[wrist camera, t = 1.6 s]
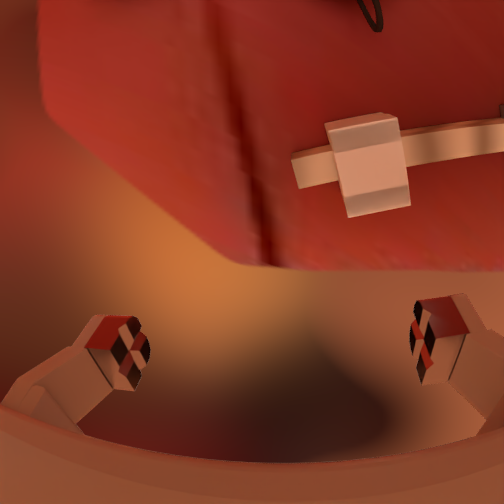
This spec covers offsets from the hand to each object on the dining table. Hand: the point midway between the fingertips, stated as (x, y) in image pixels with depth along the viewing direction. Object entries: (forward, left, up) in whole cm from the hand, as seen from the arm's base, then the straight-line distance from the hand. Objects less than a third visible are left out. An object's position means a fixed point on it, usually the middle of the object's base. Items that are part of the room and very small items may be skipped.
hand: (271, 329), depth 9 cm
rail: (-13, +2, -26) cm, 30 cm away
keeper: (-6, +2, -26) cm, 27 cm away
